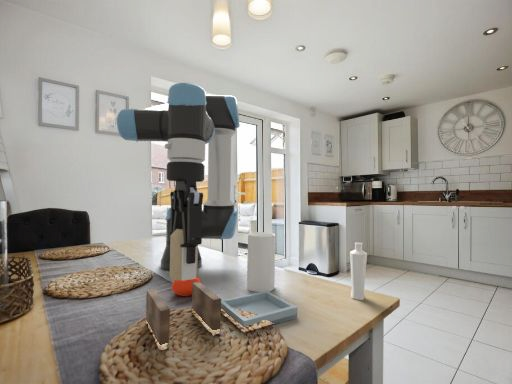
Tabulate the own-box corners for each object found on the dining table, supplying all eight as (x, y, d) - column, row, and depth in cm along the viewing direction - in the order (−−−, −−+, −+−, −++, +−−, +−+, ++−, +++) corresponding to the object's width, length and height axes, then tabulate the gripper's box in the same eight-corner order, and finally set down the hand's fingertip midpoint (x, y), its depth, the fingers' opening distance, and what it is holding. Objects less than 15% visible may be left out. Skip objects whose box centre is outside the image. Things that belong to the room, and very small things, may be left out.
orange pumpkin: (169, 294, 76) (169, 271, 76) (197, 290, 79) (197, 268, 80) (174, 300, 69) (174, 274, 70) (205, 295, 73) (204, 271, 74)
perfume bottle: (355, 301, 72) (356, 244, 73) (346, 295, 77) (347, 241, 77) (370, 299, 74) (371, 244, 74) (360, 294, 78) (361, 241, 78)
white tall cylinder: (272, 293, 77) (273, 236, 77) (243, 290, 79) (245, 235, 79) (275, 284, 85) (277, 232, 85) (250, 282, 87) (251, 231, 87)
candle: (186, 270, 60) (187, 225, 60) (202, 276, 57) (203, 228, 57) (164, 276, 56) (165, 227, 56) (180, 282, 52) (181, 230, 52)
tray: (218, 311, 64) (218, 300, 64) (266, 299, 72) (267, 290, 72) (243, 333, 54) (244, 321, 54) (297, 317, 62) (297, 306, 62)
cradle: (145, 323, 58) (146, 290, 58) (198, 311, 64) (199, 281, 64) (159, 351, 48) (160, 310, 48) (220, 334, 54) (221, 298, 54)
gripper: (156, 164, 62) (154, 266, 62) (182, 156, 46) (179, 292, 46) (188, 166, 66) (186, 262, 66) (222, 159, 50) (219, 285, 50)
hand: (183, 274), depth 56 cm, fingers closed on candle, 5 cm apart
